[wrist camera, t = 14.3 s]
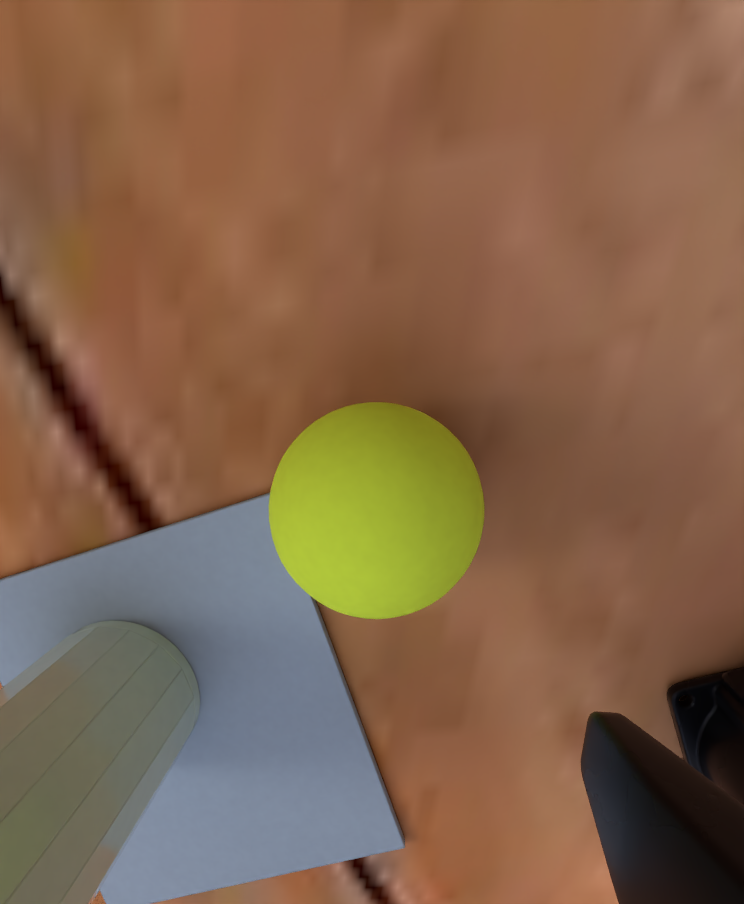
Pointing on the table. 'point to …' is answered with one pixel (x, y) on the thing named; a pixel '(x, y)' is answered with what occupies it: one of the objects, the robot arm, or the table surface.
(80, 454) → the table surface
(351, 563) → the ball
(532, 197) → the table surface
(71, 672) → the cup
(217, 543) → the mat
